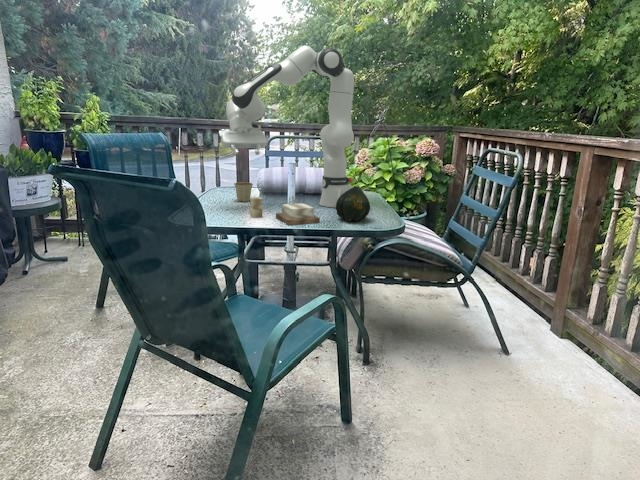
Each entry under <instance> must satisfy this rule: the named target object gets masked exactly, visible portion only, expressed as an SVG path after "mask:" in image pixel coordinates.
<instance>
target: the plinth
mask: <svg viewBox="0 0 640 480" xmlns="http://www.w3.org/2000/svg"><path fill="white" fill-rule="evenodd" d="M314 212H315V211H314V207H313V206H310V205H308V204H306V203H304V202H303V203H287V204H281V212H276V213H275V218H276V220H278V221H280V222H282V223H283V222H284V223H283V224H285V223H286V224H285V225H287V226H294V225H296V226H297V225H308V224H309V225H310V224H319V223H321V222H320V221H321V219H320V217H318V216H316V215H314Z"/></svg>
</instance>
